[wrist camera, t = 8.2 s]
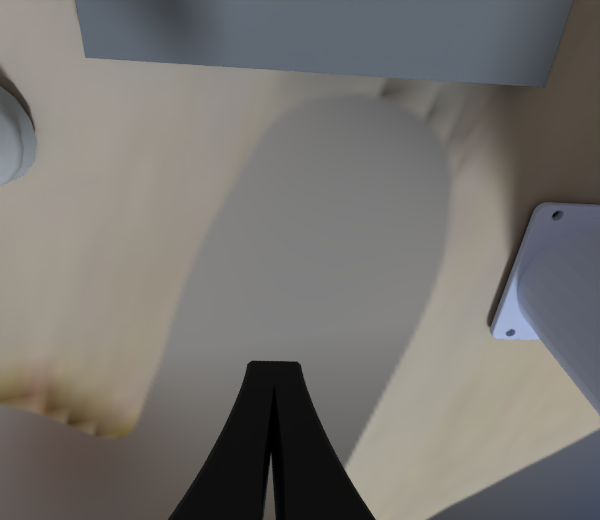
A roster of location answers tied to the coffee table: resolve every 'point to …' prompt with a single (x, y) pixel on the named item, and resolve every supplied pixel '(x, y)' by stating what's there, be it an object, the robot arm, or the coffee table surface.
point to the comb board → (336, 36)
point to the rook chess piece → (14, 139)
